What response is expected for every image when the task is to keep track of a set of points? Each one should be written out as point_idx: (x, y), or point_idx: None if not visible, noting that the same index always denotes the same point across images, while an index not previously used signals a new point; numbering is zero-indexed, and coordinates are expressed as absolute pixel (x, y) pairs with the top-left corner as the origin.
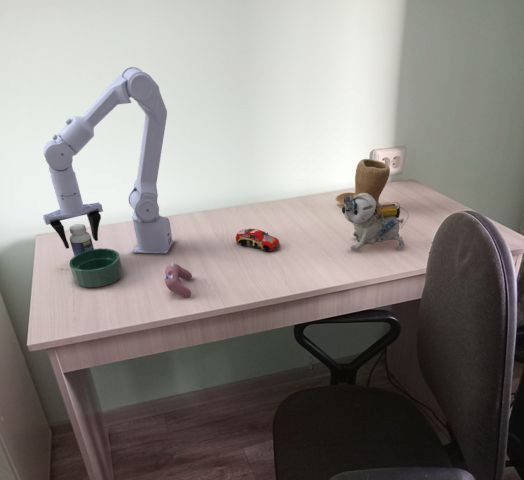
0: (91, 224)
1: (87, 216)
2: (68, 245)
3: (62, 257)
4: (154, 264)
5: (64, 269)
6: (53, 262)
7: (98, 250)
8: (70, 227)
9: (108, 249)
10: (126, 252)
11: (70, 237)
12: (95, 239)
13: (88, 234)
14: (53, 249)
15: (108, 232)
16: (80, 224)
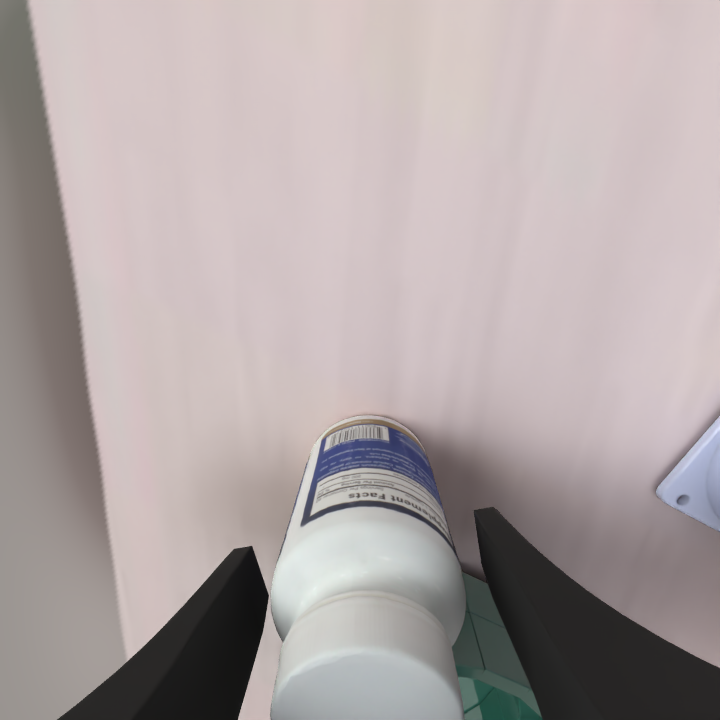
0: (548, 696)
1: (581, 693)
2: (261, 626)
3: (225, 354)
4: (693, 644)
5: (241, 513)
6: (173, 402)
7: (467, 672)
8: (284, 708)
9: (535, 704)
10: (616, 457)
11: (279, 629)
12: (487, 579)
13: (453, 639)
14: (153, 186)
15: (616, 12)
16: (416, 676)
